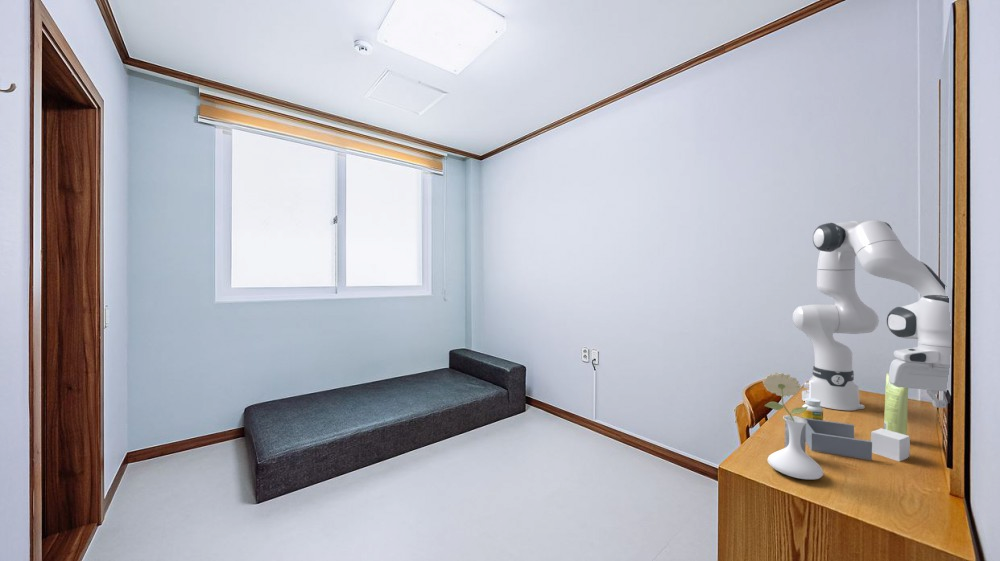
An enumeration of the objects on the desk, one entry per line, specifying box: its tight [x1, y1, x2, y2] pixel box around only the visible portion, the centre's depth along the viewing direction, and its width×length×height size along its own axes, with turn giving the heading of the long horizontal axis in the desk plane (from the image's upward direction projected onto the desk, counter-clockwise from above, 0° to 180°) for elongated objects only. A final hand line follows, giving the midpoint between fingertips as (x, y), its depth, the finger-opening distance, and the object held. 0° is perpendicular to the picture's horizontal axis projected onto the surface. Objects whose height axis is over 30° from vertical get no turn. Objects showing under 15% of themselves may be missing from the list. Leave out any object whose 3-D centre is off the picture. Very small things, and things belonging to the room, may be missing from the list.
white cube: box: [870, 427, 911, 462], centre depth 108 cm, size 6×6×6 cm
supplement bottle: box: [801, 398, 824, 420], centre depth 126 cm, size 5×5×10 cm
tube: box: [883, 373, 909, 436], centre depth 117 cm, size 6×5×20 cm
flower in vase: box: [762, 372, 824, 480], centre depth 98 cm, size 13×11×25 cm
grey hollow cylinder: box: [784, 420, 807, 453], centre depth 107 cm, size 4×4×10 cm
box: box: [800, 416, 873, 461], centre depth 113 cm, size 14×13×5 cm
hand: (941, 407), depth 103 cm, fingers closed
